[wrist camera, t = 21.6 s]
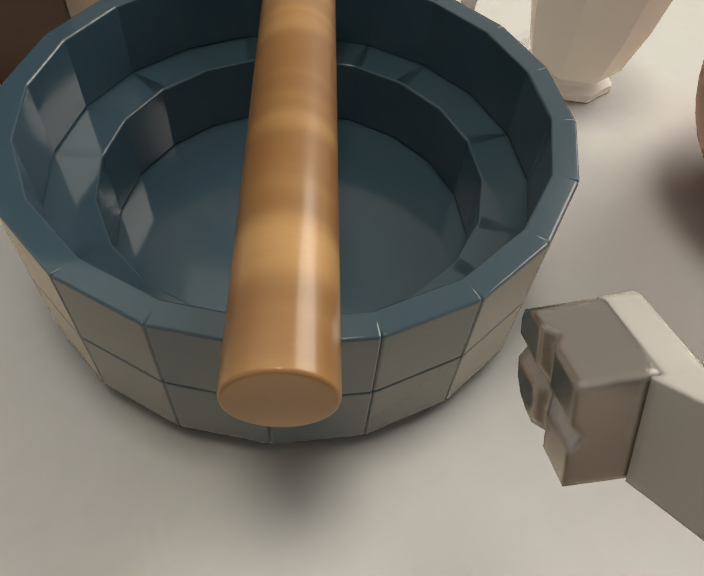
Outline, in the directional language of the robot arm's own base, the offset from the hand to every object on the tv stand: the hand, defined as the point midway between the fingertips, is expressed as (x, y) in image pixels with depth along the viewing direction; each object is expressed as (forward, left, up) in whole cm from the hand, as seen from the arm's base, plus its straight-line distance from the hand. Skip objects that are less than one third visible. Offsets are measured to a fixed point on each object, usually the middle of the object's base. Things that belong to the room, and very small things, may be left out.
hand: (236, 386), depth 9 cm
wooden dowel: (-6, +11, -4) cm, 13 cm away
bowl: (-6, +11, -10) cm, 16 cm away
